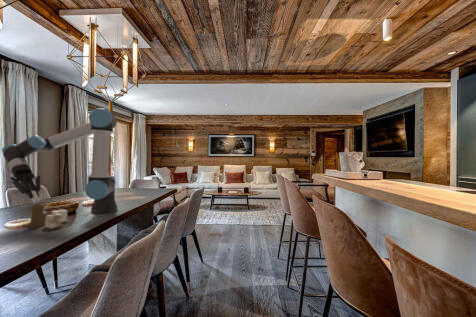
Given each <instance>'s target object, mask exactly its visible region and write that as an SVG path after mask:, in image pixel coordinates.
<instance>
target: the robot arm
mask: <svg viewBox="0 0 476 317" xmlns="http://www.w3.org/2000/svg"><path fill="white" fill-rule="evenodd" d="M88 120H89V122H86V123H84V124H82V125H78V126H76V127H73V128H70V129H67V130H65V131H63V132H60V133H58V134H57V133H56V134H53V135H52V136H49V137H47V138H43V137H42V136H40V135H37V134H34V135H32V136H30V137H28V138H27V139H25V140H23V141H21V142H20V143H18V144H14V143H13V144H12V143H11V144H7V145H5V146H3V147H2V148H1V152H2V156H3V157H4V160H6V163H7V165H8V168H9V169H10V172H11V174H12V177H10V178H9V180H8V182H10V183H11V184H12V185H13V186H15V188H16V189H17V190H18V191H19V192H20V194H22V195H23V194H25V195H26V196H27V197H28V198H29V199H31V201H32V203H33V205H36V204H40V203H39V202H40V201H41V199H40V197H39V196H40V193H39V192H40V190H41V181H40V179H41V175H37V176H36V175H35V174H34V173H33V171H32V169H31V167H30V165H29V163H28V161H27V159H26V158H27V157H29V156H31V155H32V154H34V153H45V154H46V153H50V152H53V151H54V150H55V149H57V148H60V147H63V146H66V145H69V144H70V143H73V142H75V141H78V140H81V139H84V138H86V137H90V136H92V135H93V138H92V156H91V158H92V159H91V173H90V174H89V175H88V177H87V183H86V185H85V188H84V193H85V195H86V197H88V198H89V199H91V200H93V203H92V205H91V208H90V213H92V214H108V213H109V212H110V213H114V212H116V210H117V211H118V204H117V201H116V199H115V197H116V177H115V176H111V175H110V174H109V159H110V143H111V142H110V141H111V134H113V133H114V128H115V127H116V125H117V118H116V116H115V115H114V114H113V113H112V112H110V110H109V109H106V108H102V107H98V108H94V109H93V110H91V111H90V113H89V115H88Z"/></svg>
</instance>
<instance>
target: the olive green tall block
mask: <svg viewBox="0 0 476 317" xmlns="http://www.w3.org/2000/svg"><path fill="white" fill-rule="evenodd" d="M44 210H45V205H44V204H41V203H38V204H33V205H32V206H30V211H31V216H30V222H29V228H40V227H41V228H42V227H45V214H44Z"/></svg>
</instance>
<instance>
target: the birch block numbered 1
mask: <svg viewBox="0 0 476 317" xmlns="http://www.w3.org/2000/svg"><path fill="white" fill-rule="evenodd" d="M62 216H63V214H57V213H56V214H52V213H51V214H47V215H46V214H44V221H45V225H44V228H47V229H56V228H60V227H63V222H62Z"/></svg>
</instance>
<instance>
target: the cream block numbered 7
mask: <svg viewBox="0 0 476 317" xmlns="http://www.w3.org/2000/svg"><path fill="white" fill-rule="evenodd" d="M56 213H57V214H63V216H62V223H65V222H68V209H67V210H66V209H57V210H56V209H55V210H52V211H51V214H56Z"/></svg>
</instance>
